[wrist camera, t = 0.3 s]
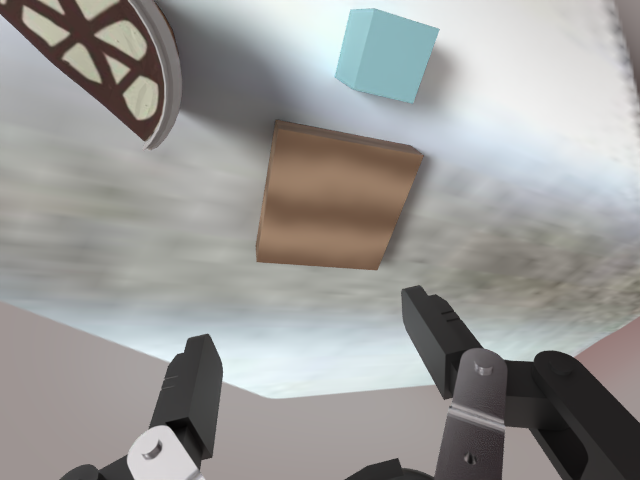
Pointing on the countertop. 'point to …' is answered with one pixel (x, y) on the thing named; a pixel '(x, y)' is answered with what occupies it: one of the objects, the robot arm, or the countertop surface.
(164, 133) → the food container
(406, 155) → the walnut base
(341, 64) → the teal block
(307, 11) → the countertop surface
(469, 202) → the countertop surface
